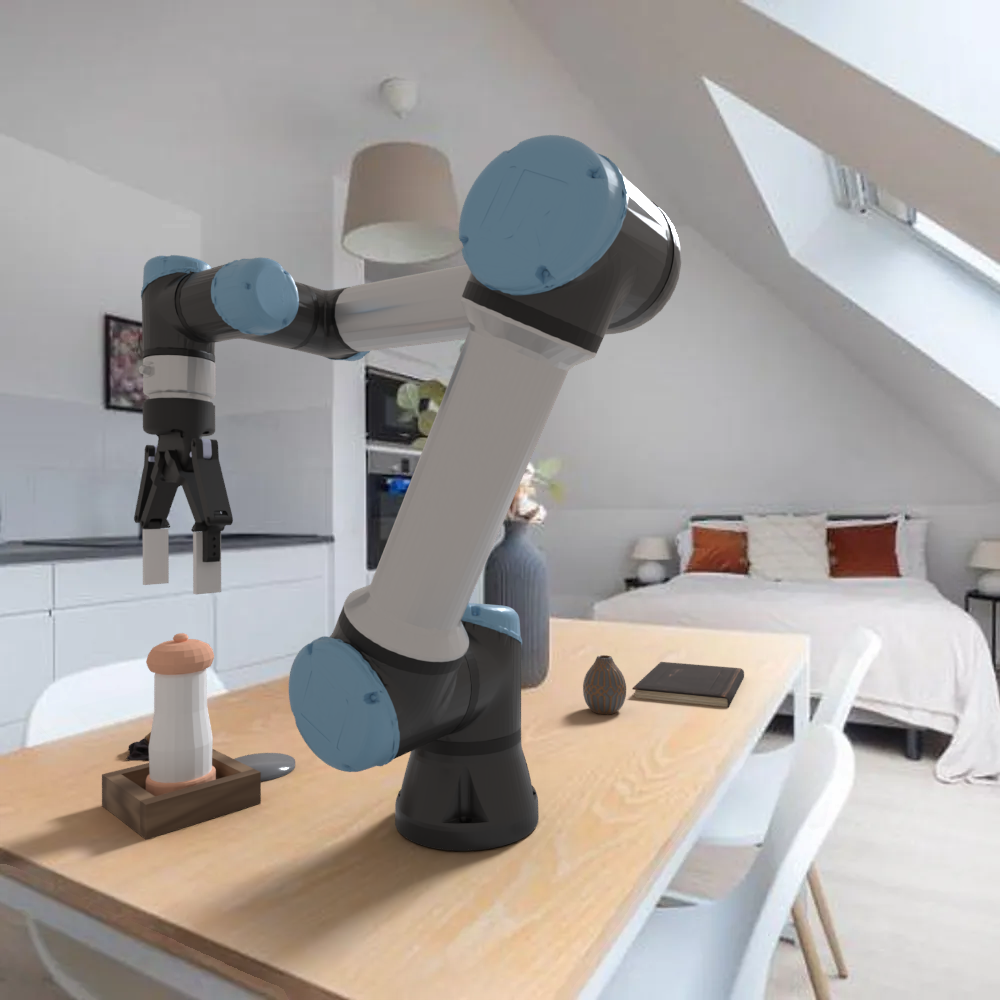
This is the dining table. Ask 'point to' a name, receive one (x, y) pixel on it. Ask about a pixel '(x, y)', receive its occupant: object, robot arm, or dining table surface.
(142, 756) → the brown and black lump
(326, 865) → the dining table surface
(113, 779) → the walnut frame
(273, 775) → the slate coaster
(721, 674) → the hardcover book
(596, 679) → the vase
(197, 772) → the pepper shaker
